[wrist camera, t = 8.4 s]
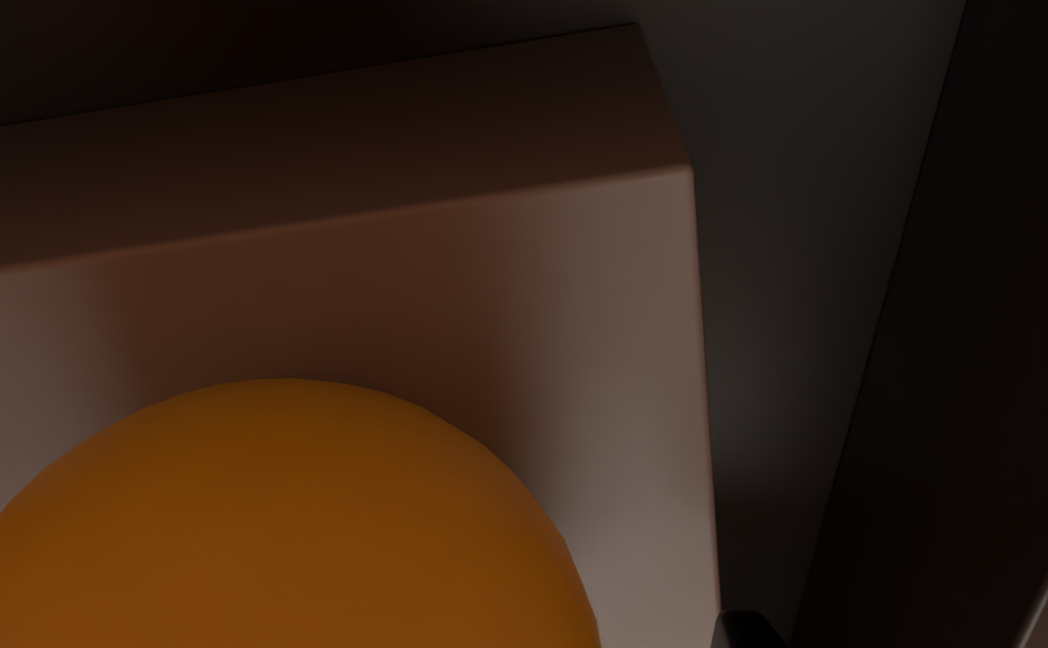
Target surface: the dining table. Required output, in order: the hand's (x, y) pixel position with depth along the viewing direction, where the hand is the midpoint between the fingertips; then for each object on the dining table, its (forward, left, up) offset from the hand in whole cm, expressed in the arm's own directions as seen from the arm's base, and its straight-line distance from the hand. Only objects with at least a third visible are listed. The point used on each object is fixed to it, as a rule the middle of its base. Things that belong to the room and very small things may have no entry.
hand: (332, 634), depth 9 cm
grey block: (0, 0, -5) cm, 5 cm away
